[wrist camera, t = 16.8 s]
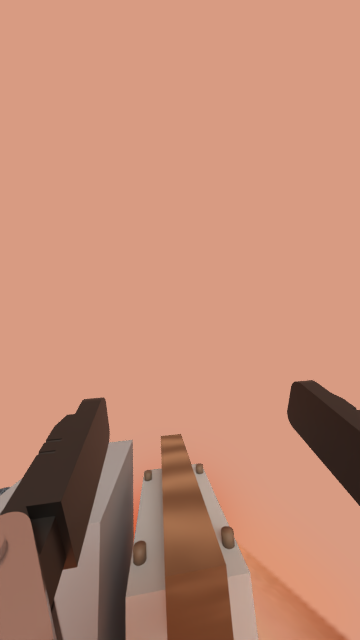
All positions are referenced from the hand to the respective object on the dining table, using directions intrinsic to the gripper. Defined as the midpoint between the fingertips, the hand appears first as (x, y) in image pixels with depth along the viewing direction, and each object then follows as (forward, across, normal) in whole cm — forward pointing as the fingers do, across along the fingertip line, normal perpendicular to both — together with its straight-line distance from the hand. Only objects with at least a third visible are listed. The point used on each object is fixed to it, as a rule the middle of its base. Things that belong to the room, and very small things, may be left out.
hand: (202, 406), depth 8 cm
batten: (+11, 0, +24) cm, 26 cm away
